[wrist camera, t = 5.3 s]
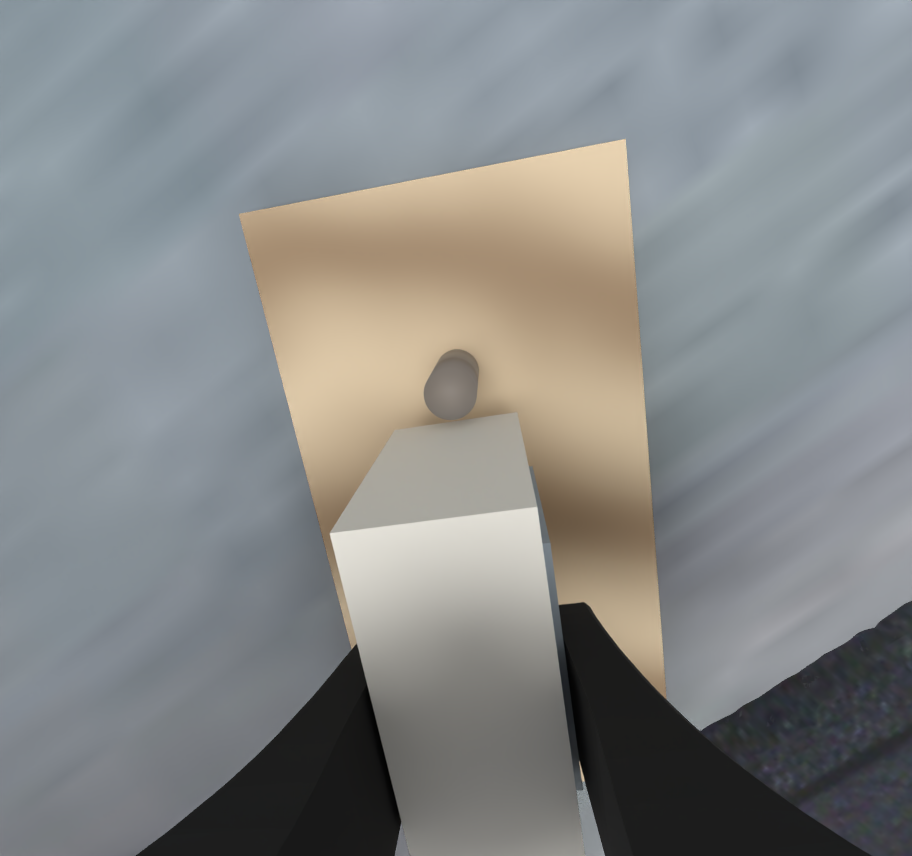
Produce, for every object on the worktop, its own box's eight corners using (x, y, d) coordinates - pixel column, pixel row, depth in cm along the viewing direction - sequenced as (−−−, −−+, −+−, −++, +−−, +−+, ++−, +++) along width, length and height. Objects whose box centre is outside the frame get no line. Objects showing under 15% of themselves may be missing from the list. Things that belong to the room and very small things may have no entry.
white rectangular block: (557, 658, 14) (597, 878, 9) (443, 670, 15) (418, 887, 9) (523, 411, 13) (547, 506, 7) (394, 430, 13) (329, 533, 8)
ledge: (660, 744, 19) (706, 868, 15) (395, 766, 20) (372, 887, 16) (614, 149, 14) (664, 100, 10) (257, 218, 15) (174, 198, 11)
